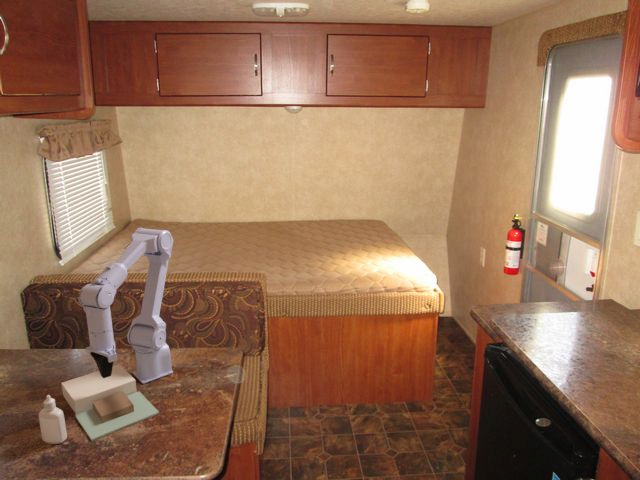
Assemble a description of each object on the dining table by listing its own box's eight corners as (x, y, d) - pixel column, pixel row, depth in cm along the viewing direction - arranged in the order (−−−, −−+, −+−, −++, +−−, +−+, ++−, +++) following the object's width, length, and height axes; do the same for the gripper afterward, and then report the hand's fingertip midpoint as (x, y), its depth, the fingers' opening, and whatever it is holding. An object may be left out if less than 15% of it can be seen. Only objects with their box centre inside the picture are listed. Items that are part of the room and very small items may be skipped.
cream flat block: (120, 375, 151) (119, 363, 149) (136, 392, 142) (135, 380, 141) (63, 395, 140) (61, 382, 139) (76, 415, 132) (74, 401, 131)
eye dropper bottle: (50, 449, 119) (43, 404, 116) (40, 439, 122) (33, 395, 119) (69, 440, 122) (63, 396, 119) (59, 430, 125) (52, 387, 122)
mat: (139, 392, 142) (139, 391, 142) (159, 413, 132) (159, 411, 132) (75, 416, 131) (74, 415, 131) (91, 441, 122) (91, 439, 121)
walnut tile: (123, 398, 138) (123, 391, 138) (134, 411, 132) (133, 404, 132) (93, 408, 134) (92, 402, 133) (102, 423, 128) (101, 416, 127)
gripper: (75, 324, 132) (81, 370, 136) (93, 343, 122) (100, 393, 126) (102, 316, 137) (108, 361, 141) (123, 334, 126) (128, 383, 130)
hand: (106, 376), depth 133 cm, fingers closed
